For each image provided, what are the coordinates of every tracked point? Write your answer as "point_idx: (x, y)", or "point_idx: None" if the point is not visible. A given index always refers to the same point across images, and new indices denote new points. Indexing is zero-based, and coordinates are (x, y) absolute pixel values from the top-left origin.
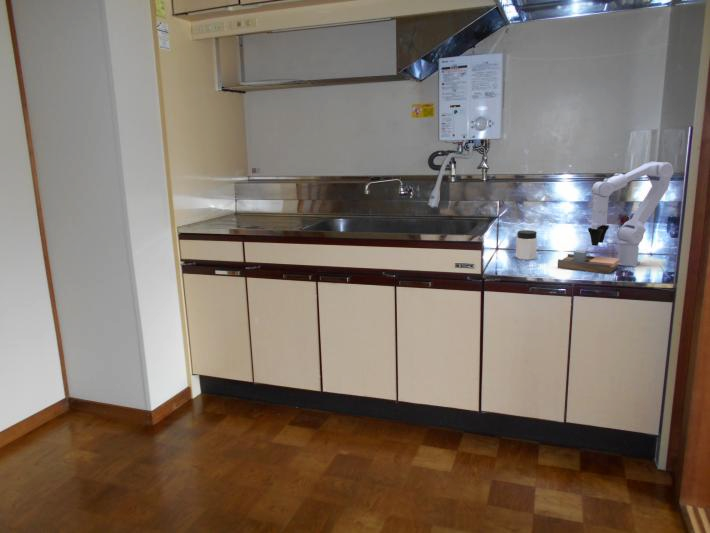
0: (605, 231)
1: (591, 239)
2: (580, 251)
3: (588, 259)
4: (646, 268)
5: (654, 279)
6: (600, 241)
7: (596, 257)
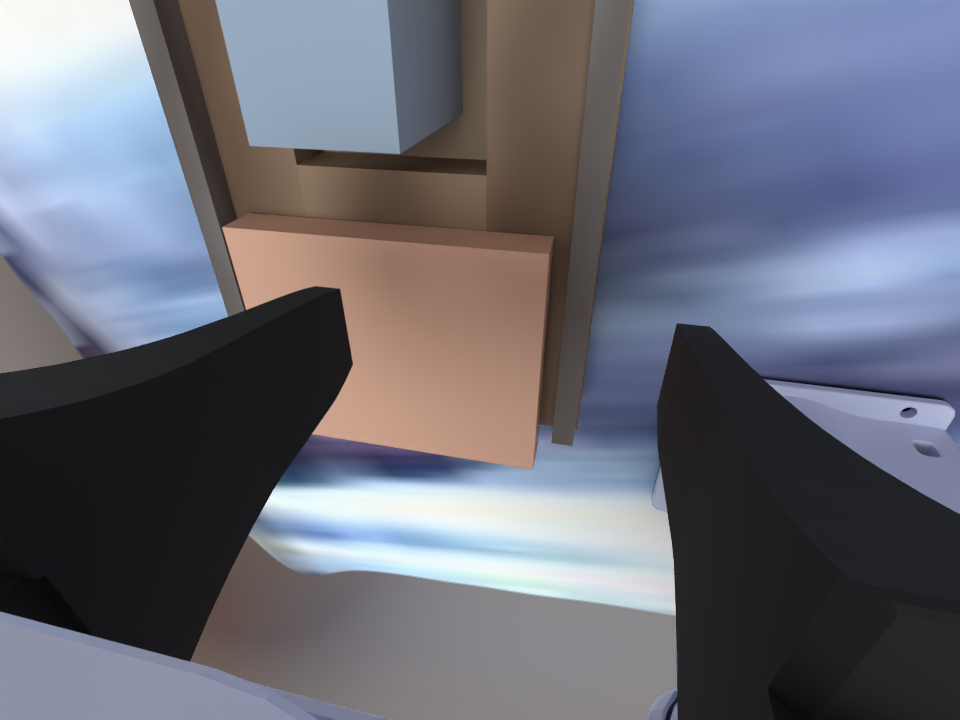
0: (681, 655)
1: (224, 325)
2: (308, 54)
3: (528, 136)
4: (637, 551)
5: (352, 556)
6: (668, 390)
7: (460, 264)
